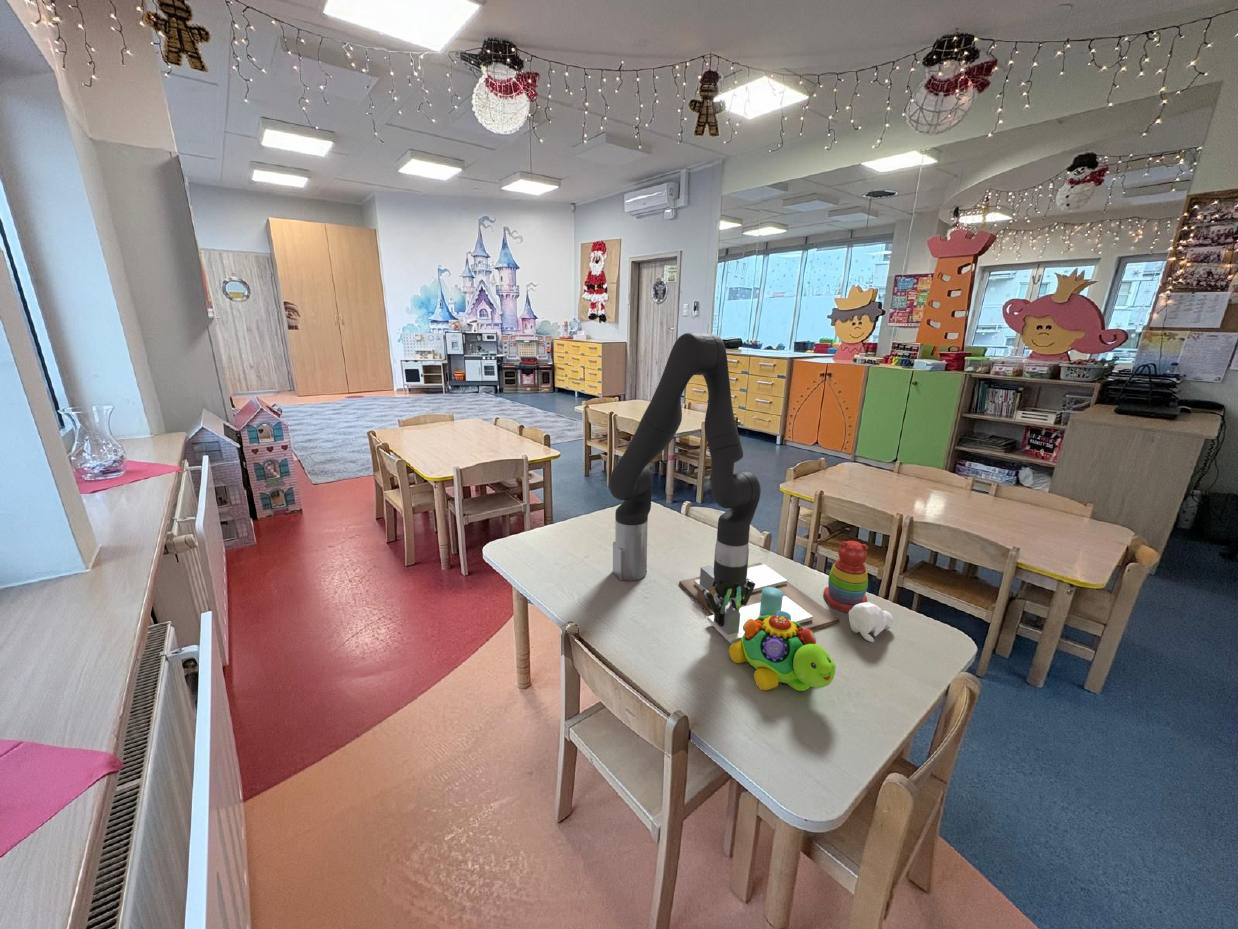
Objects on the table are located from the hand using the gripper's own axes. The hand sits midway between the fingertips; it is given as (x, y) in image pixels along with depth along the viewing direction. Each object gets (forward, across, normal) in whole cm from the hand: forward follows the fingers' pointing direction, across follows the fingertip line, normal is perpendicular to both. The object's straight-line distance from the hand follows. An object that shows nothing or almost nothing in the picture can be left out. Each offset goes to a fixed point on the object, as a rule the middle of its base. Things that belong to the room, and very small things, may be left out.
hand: (726, 622), depth 119 cm
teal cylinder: (+1, +13, 0) cm, 13 cm away
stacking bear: (+3, +37, -1) cm, 37 cm away
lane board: (+3, +15, +8) cm, 17 cm away
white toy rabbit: (+4, +33, -13) cm, 36 cm away
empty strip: (+2, +16, +16) cm, 23 cm away
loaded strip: (+2, +10, 0) cm, 10 cm away
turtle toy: (+4, +4, -16) cm, 17 cm away
